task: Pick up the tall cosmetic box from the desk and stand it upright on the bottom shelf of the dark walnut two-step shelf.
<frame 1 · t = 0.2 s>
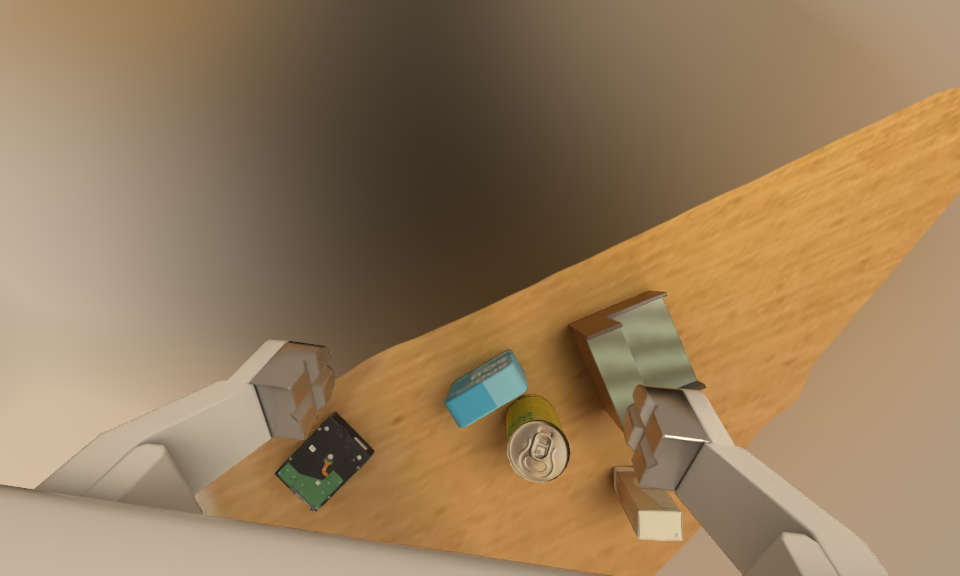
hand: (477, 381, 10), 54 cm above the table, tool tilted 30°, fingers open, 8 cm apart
step shelf: (627, 350, 62), on the table
cosmetic box: (630, 477, 63), on the table
disk drive: (329, 457, 66), on the table
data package: (488, 375, 64), on the table
beverage can: (531, 418, 64), on the table
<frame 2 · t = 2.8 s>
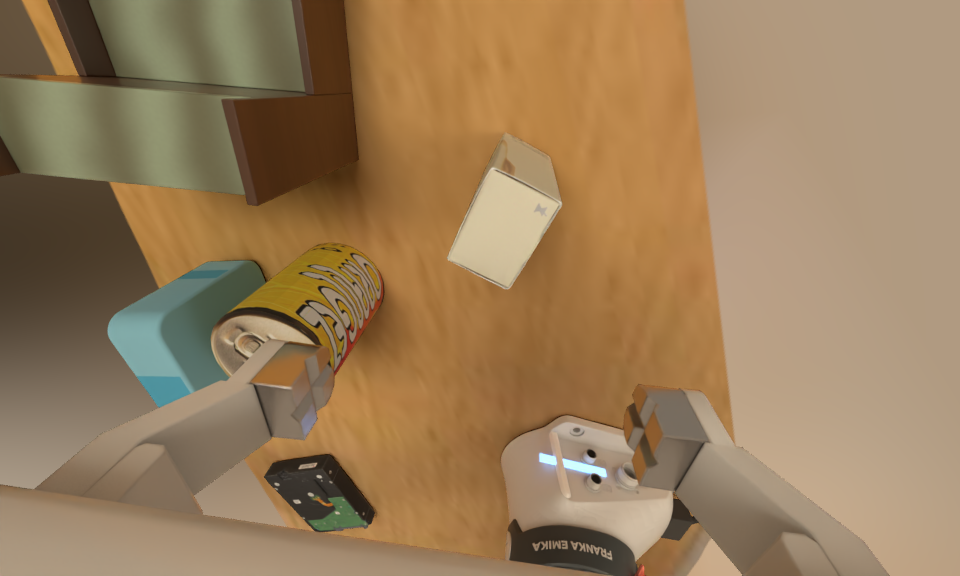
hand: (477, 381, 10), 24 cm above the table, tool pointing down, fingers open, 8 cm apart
step shelf: (245, 47, 27), on the table
cosmetic box: (509, 179, 30), on the table
disk drive: (327, 485, 56), on the table
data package: (258, 304, 40), on the table
beverage can: (342, 282, 37), on the table
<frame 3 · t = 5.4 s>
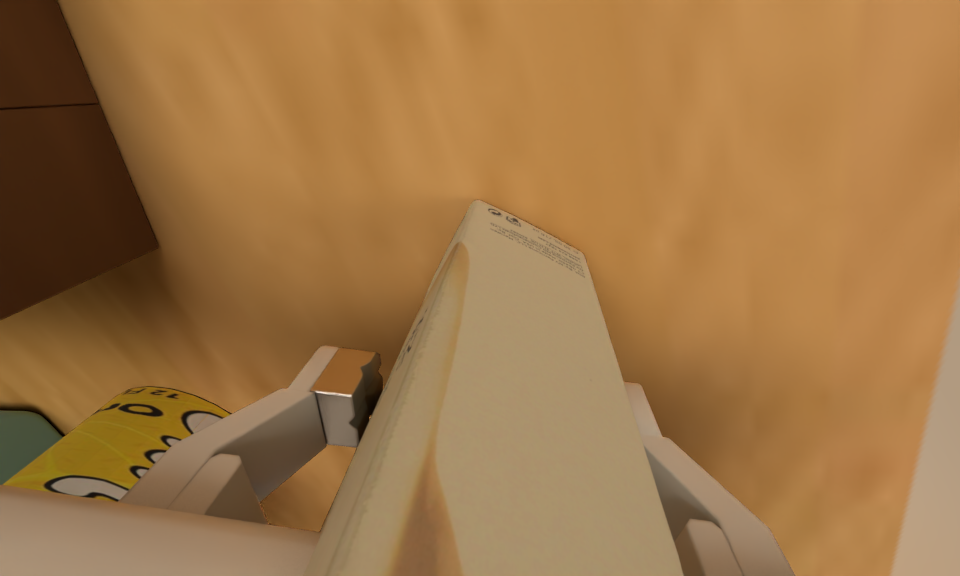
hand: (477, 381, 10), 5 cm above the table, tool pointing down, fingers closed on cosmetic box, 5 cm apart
cosmetic box: (489, 292, 14), on the table, touching gripper
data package: (67, 461, 23), on the table
beverage can: (194, 442, 21), on the table
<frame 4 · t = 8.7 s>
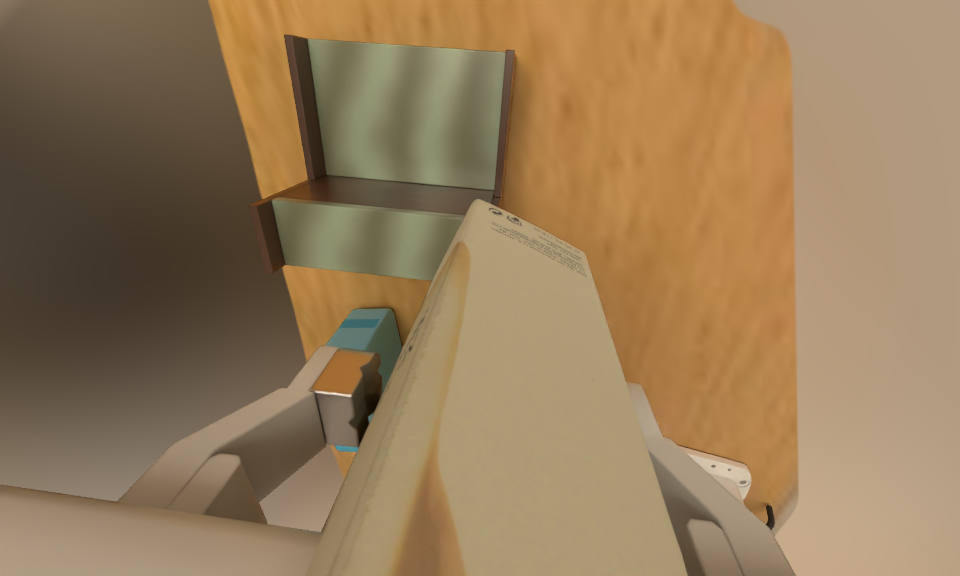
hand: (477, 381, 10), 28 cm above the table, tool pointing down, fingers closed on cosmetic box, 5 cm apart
step shelf: (420, 145, 34), on the table
cosmetic box: (490, 291, 14), point 23 cm above the table, touching gripper
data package: (385, 342, 46), on the table
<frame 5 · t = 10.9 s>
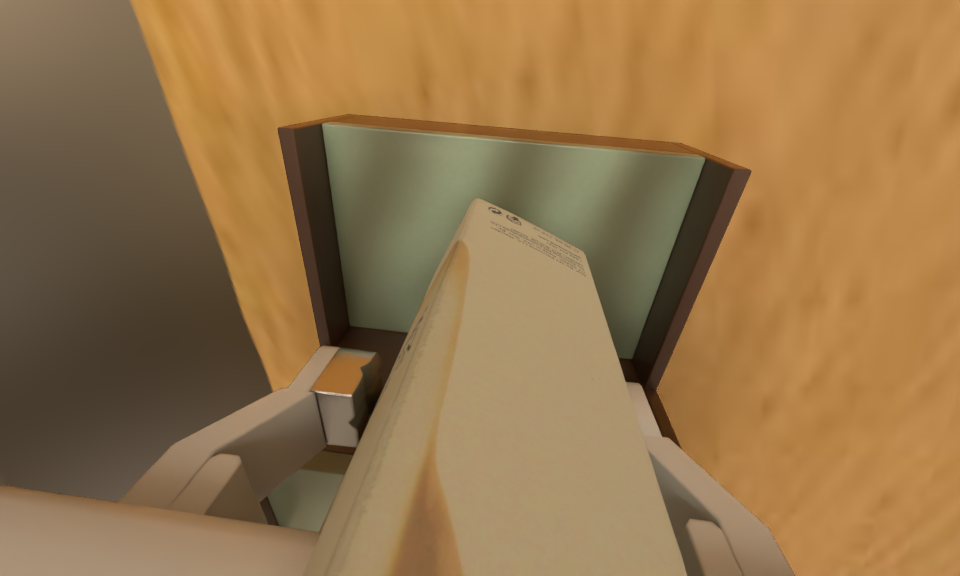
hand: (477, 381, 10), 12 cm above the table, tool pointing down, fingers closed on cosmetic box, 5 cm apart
step shelf: (496, 266, 21), on the table
cosmetic box: (489, 291, 14), point 7 cm above the table, touching gripper
when the fingers open (8 cm above the table, at t = 12.3 s): cosmetic box stays where it is, resting on step shelf.
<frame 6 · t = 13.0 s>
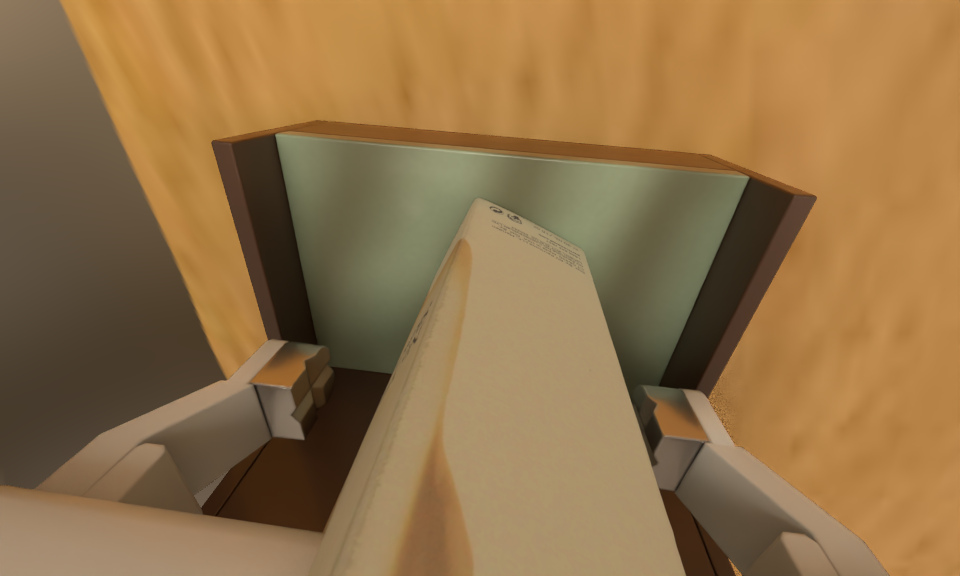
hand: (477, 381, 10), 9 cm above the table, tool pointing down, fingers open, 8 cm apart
step shelf: (492, 293, 19), on the table
cosmetic box: (491, 289, 14), point 4 cm above the table, touching step shelf
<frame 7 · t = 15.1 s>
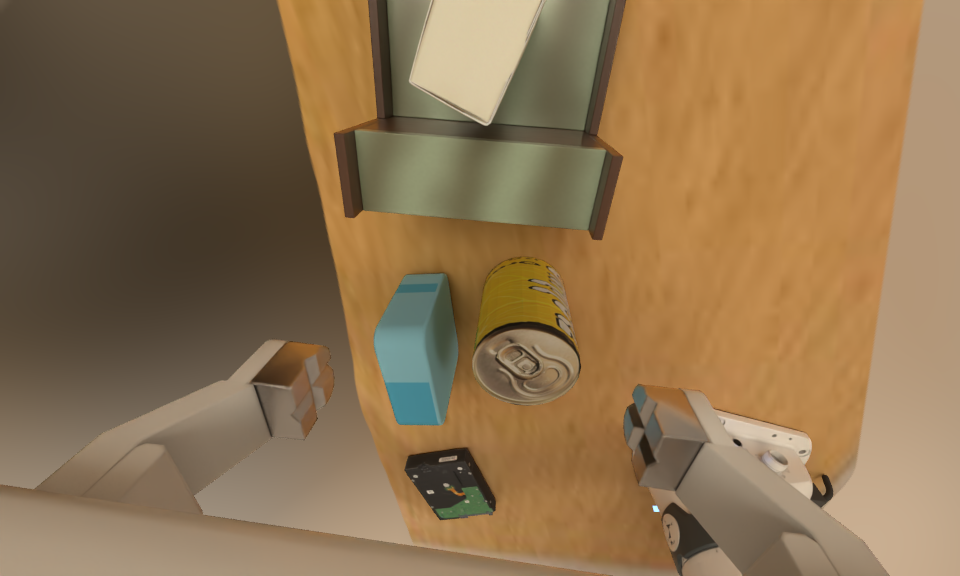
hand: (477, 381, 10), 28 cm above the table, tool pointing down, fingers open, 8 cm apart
step shelf: (493, 85, 30), on the table
cosmetic box: (492, 47, 26), point 4 cm above the table, touching step shelf
disk drive: (454, 476, 60), on the table
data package: (435, 312, 43), on the table
beverage can: (523, 291, 41), on the table
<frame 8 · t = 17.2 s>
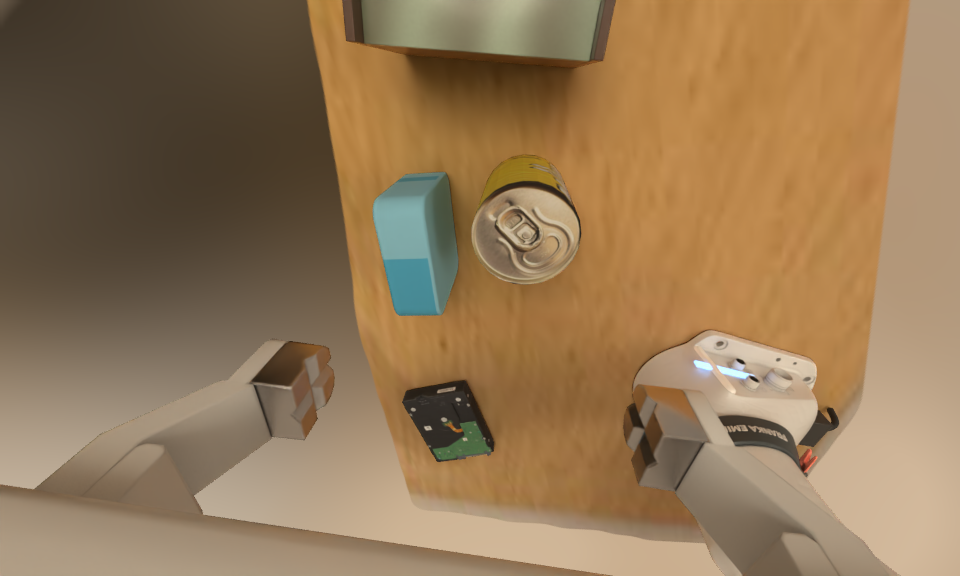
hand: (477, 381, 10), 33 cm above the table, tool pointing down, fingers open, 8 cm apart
disk drive: (452, 415, 59), on the table
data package: (435, 221, 43), on the table
beverage can: (524, 196, 40), on the table
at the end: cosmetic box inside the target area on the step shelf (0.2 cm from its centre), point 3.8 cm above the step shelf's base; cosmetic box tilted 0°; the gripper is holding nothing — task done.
